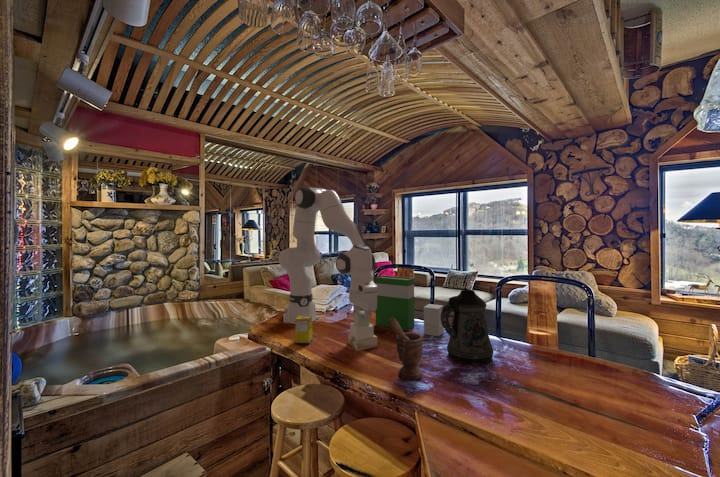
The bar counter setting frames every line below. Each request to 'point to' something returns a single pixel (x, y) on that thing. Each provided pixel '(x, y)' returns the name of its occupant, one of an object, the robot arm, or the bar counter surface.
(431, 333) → the supplement box
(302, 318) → the supplement box
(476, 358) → the beer stein
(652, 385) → the bar counter surface
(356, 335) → the tower top
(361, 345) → the tower base
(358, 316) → the sage block
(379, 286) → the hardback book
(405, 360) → the mortar and pestle
